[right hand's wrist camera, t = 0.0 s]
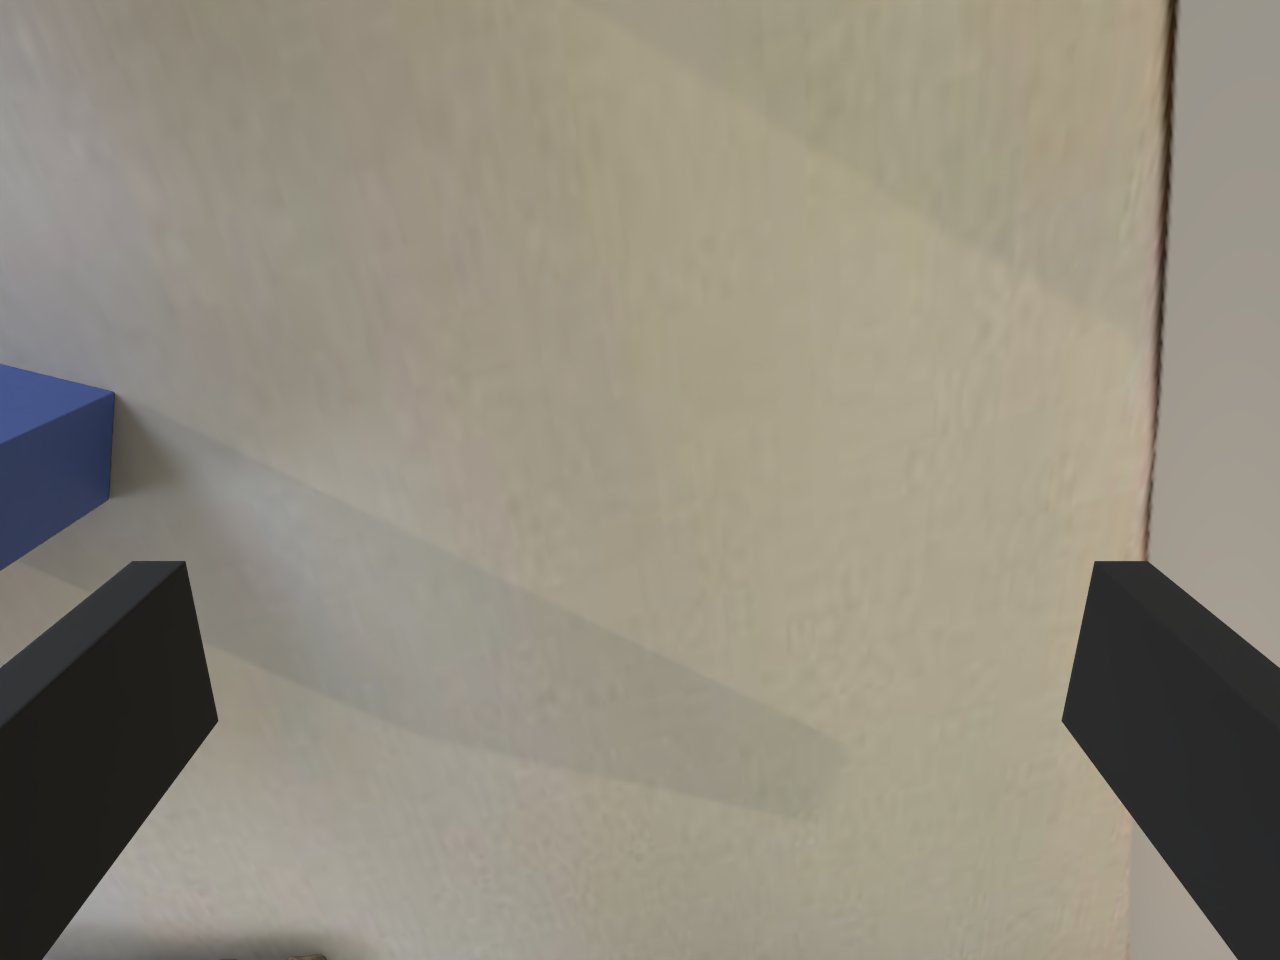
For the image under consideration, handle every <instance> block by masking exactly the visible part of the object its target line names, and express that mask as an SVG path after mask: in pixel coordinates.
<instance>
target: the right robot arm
mask: <svg viewBox="0 0 1280 960" xmlns="http://www.w3.org/2000/svg"><path fill="white" fill-rule="evenodd" d="M217 722H218V717H217V712H216V707H215V702H214V697H213V693H212V688H211V683H210V678H209V673H208V668H207V664H206V659H205V654H204V649H203V644H202V639H201V635H200V630H199V625H198V620H197V615H196V610H195V606H194V601H193V596H192V591H191V586H190V581H189V577H188V572H187V567H186V562H185V561H132V562H131V563H130V564H128V565H127V566H126V567H125V568H123V569H122V570H121V571H120V572H118V573H117V574H116V575H115V576H114V577H112V578H111V579H110V580H109V581H107V582H106V583H105V584H104V585H102V586H101V587H100V588H99V589H97V590H96V591H95V592H94V593H93V594H91V595H90V596H89V597H88V598H86V599H85V600H84V601H83V602H81V603H80V604H79V605H78V606H76V607H75V608H74V609H73V610H72V611H70V612H69V613H68V614H67V615H65V616H64V617H63V618H62V619H60V620H59V621H58V622H57V623H55V624H54V625H53V626H52V627H51V628H49V629H48V630H47V631H46V632H44V633H43V634H42V635H41V636H39V637H38V638H37V639H36V640H34V641H33V642H32V643H31V644H30V645H28V646H27V647H26V648H25V649H23V650H22V651H21V652H20V653H18V654H17V655H16V656H15V657H13V658H12V659H11V660H10V661H9V662H7V663H6V664H5V665H4V666H2V667H1V668H0V960H42V959H43V958H44V956H45V955H46V954H47V952H48V951H49V950H50V948H51V947H52V945H53V944H54V943H55V941H56V940H57V939H58V937H59V936H60V935H61V933H62V932H63V931H64V929H65V928H66V927H67V925H68V924H69V922H70V921H71V920H72V918H73V917H74V916H75V914H76V913H77V912H78V910H79V909H80V908H81V906H82V905H83V903H84V902H85V901H86V899H87V898H88V897H89V895H90V894H91V893H92V891H93V890H94V889H95V887H96V886H97V885H98V883H99V882H100V880H101V879H102V878H103V876H104V875H105V874H106V872H107V871H108V870H109V868H110V867H111V866H112V864H113V863H114V862H115V860H116V859H117V857H118V856H119V855H120V853H121V852H122V851H123V849H124V848H125V847H126V845H127V844H128V843H129V841H130V840H131V839H132V837H133V836H134V834H135V833H136V832H137V830H138V829H139V828H140V826H141V825H142V824H143V822H144V821H145V820H146V818H147V817H148V816H149V814H150V813H151V811H152V810H153V809H154V807H155V806H156V805H157V803H158V802H159V801H160V799H161V798H162V797H163V795H164V794H165V793H166V791H167V790H168V788H169V787H170V786H171V784H172V783H173V782H174V780H175V779H176V778H177V776H178V775H179V774H180V772H181V771H182V770H183V768H184V767H185V765H186V764H187V763H188V761H189V760H190V759H191V757H192V756H193V755H194V753H195V752H196V751H197V749H198V748H199V747H200V745H201V744H202V742H203V741H204V740H205V738H206V737H207V736H208V734H209V733H210V732H211V730H212V729H213V728H214V726H215V725H216V723H217ZM1062 722H1063V723H1064V725H1065V726H1066V728H1067V729H1068V730H1069V732H1070V733H1071V734H1072V736H1073V737H1074V738H1075V740H1076V741H1077V742H1078V744H1079V745H1080V747H1081V748H1082V749H1083V751H1084V752H1085V753H1086V755H1087V756H1088V757H1089V759H1090V760H1091V761H1092V763H1093V764H1094V765H1095V767H1096V768H1097V770H1098V771H1099V772H1100V774H1101V775H1102V776H1103V778H1104V779H1105V780H1106V782H1107V783H1108V784H1109V786H1110V787H1111V788H1112V790H1113V791H1114V793H1115V794H1116V795H1117V797H1118V798H1119V799H1120V801H1121V802H1122V803H1123V805H1124V806H1125V807H1126V809H1127V810H1128V811H1129V813H1130V814H1131V816H1132V817H1133V818H1134V820H1135V821H1136V822H1137V824H1138V825H1139V826H1140V828H1141V829H1142V830H1143V832H1144V833H1145V834H1146V836H1147V837H1148V839H1149V840H1150V841H1151V843H1152V844H1153V845H1154V847H1155V848H1156V849H1157V851H1158V852H1159V853H1160V855H1161V856H1162V857H1163V859H1164V860H1165V862H1166V863H1167V864H1168V866H1169V867H1170V868H1171V870H1172V871H1173V872H1174V874H1175V875H1176V876H1177V878H1178V879H1179V880H1180V882H1181V883H1182V884H1183V886H1184V887H1185V889H1186V890H1187V891H1188V893H1189V894H1190V895H1191V897H1192V898H1193V899H1194V901H1195V902H1196V903H1197V905H1198V906H1199V908H1200V909H1201V910H1202V912H1203V913H1204V914H1205V916H1206V917H1207V918H1208V920H1209V921H1210V922H1211V924H1212V925H1213V926H1214V928H1215V929H1216V931H1217V932H1218V933H1219V935H1220V936H1221V937H1222V939H1223V940H1224V941H1225V943H1226V944H1227V945H1228V947H1229V948H1230V950H1231V951H1232V952H1233V954H1234V955H1235V956H1236V958H1237V959H1238V960H1280V668H1279V667H1278V666H1276V665H1275V664H1274V663H1273V662H1271V661H1270V660H1269V659H1268V658H1267V657H1265V656H1264V655H1263V654H1262V653H1260V652H1259V651H1258V650H1257V649H1255V648H1254V647H1253V646H1252V645H1250V644H1249V643H1248V642H1247V641H1246V640H1244V639H1243V638H1242V637H1241V636H1239V635H1238V634H1237V633H1236V632H1234V631H1233V630H1232V629H1231V628H1229V627H1228V626H1227V625H1226V624H1225V623H1223V622H1222V621H1221V620H1220V619H1218V618H1217V617H1216V616H1215V615H1213V614H1212V613H1211V612H1210V611H1208V610H1207V609H1206V608H1205V607H1204V606H1202V605H1201V604H1200V603H1198V602H1197V601H1196V600H1195V599H1194V598H1192V597H1191V596H1190V595H1189V594H1187V593H1186V592H1185V591H1184V590H1183V589H1181V588H1180V587H1179V586H1178V585H1176V584H1175V583H1174V582H1173V581H1171V580H1170V579H1169V578H1168V577H1166V576H1165V575H1164V574H1163V573H1162V572H1160V571H1159V570H1158V569H1157V568H1155V567H1154V566H1153V565H1152V564H1150V563H1149V562H1148V561H1095V562H1094V567H1093V572H1092V577H1091V581H1090V586H1089V591H1088V596H1087V601H1086V606H1085V610H1084V615H1083V620H1082V625H1081V630H1080V635H1079V639H1078V644H1077V649H1076V654H1075V659H1074V664H1073V668H1072V673H1071V678H1070V683H1069V688H1068V693H1067V697H1066V702H1065V707H1064V712H1063V717H1062Z"/></svg>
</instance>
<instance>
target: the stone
mask: <svg viewBox="0 0 1280 960" xmlns="http://www.w3.org/2000/svg"><path fill="white" fill-rule="evenodd" d="M223 960H236V959H223ZM287 960H327V959H326V957H324V956H323V955H321V954H318V955H311V956H305V957H295V956H292V957H291V958H289V959H287Z"/></svg>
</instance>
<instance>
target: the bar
mask: <svg viewBox="0 0 1280 960" xmlns="http://www.w3.org/2000/svg"><path fill="white" fill-rule="evenodd" d="M113 409H114V392H111V391H107V390H103V389H99V388H95V387H91V386H87V385H83V384H79V383H75V382H71V381H67V380H62V379H58V378H54V377H50V376H46V375H42V374H38V373H34V372H30V371H26V370H22V369H18V368H14V367H10V366H6V365H1V364H0V571H1V570H2V569H4V568H5V567H7V566H8V565H10V564H11V563H13V562H15V561H16V560H18V559H19V558H21V557H22V556H24V555H25V554H27V553H28V552H30V551H31V550H33V549H34V548H36V547H37V546H39V545H40V544H42V543H43V542H45V541H46V540H48V539H50V538H51V537H53V536H54V535H56V534H57V533H59V532H60V531H62V530H63V529H65V528H66V527H68V526H69V525H71V524H72V523H74V522H75V521H77V520H78V519H80V518H81V517H83V516H84V515H86V514H88V513H89V512H91V511H92V510H94V509H95V508H97V507H98V506H100V505H101V504H103V503H104V502H106V501H107V500H108V499H109V483H110V465H111V446H112V428H113Z"/></svg>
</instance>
